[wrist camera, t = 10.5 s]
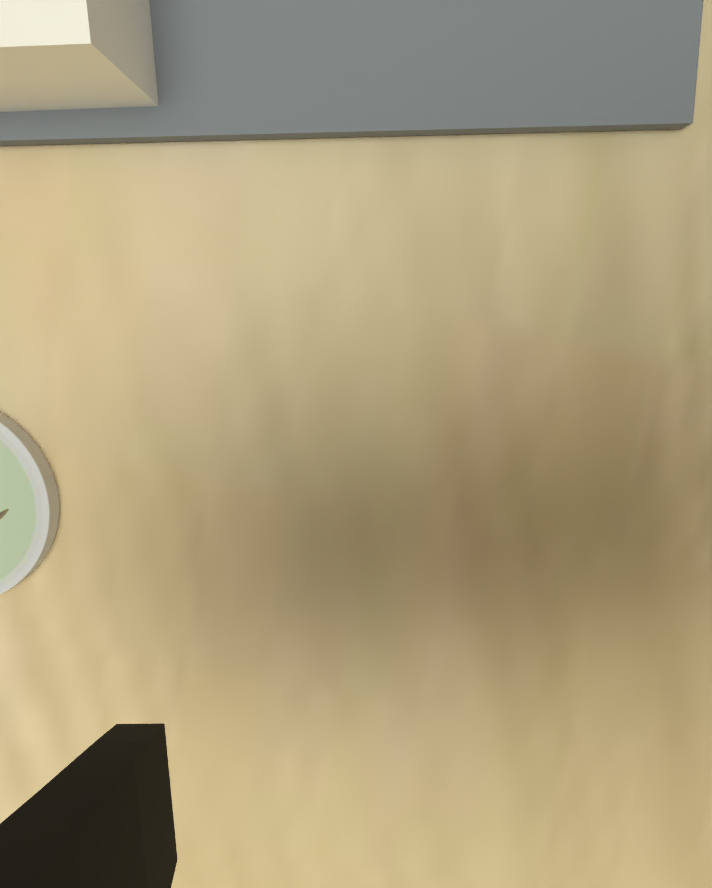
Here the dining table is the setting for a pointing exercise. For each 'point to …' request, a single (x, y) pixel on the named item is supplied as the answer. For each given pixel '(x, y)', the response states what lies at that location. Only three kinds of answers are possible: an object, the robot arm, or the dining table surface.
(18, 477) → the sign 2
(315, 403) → the dining table surface
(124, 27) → the card box
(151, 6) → the mat
